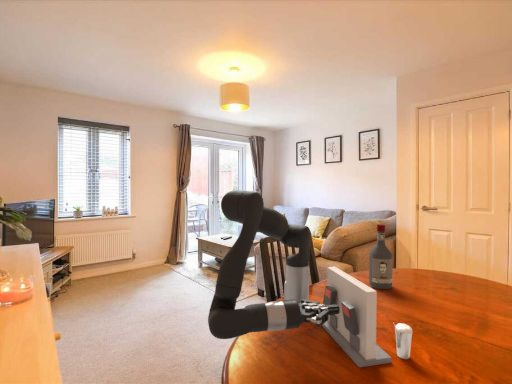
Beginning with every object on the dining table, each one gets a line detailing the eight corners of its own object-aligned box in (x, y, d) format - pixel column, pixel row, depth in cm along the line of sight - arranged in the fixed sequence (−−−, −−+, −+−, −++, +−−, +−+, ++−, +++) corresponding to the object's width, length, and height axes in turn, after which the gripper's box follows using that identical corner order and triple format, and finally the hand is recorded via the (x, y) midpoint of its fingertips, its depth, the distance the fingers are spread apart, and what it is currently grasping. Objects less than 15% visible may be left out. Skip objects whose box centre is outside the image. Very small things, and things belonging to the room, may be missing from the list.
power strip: (359, 367, 79) (359, 293, 78) (319, 323, 103) (320, 267, 103) (391, 362, 81) (392, 290, 80) (345, 320, 106) (345, 265, 105)
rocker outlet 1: (328, 314, 95) (332, 290, 95) (321, 308, 100) (325, 285, 100) (332, 315, 95) (337, 291, 95) (326, 308, 100) (329, 286, 100)
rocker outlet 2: (353, 336, 82) (349, 309, 82) (344, 327, 87) (340, 302, 87) (359, 334, 83) (354, 307, 82) (349, 325, 88) (345, 300, 87)
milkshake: (388, 352, 86) (389, 319, 86) (405, 351, 87) (406, 318, 86) (397, 361, 82) (398, 326, 81) (415, 360, 82) (416, 325, 82)
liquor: (368, 282, 146) (368, 223, 145) (387, 283, 145) (388, 223, 144) (373, 288, 137) (373, 226, 136) (393, 289, 136) (394, 226, 135)
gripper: (288, 312, 73) (350, 305, 77) (274, 292, 86) (328, 288, 90) (288, 341, 74) (350, 333, 77) (274, 317, 87) (327, 311, 90)
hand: (338, 308), depth 84 cm, fingers closed
